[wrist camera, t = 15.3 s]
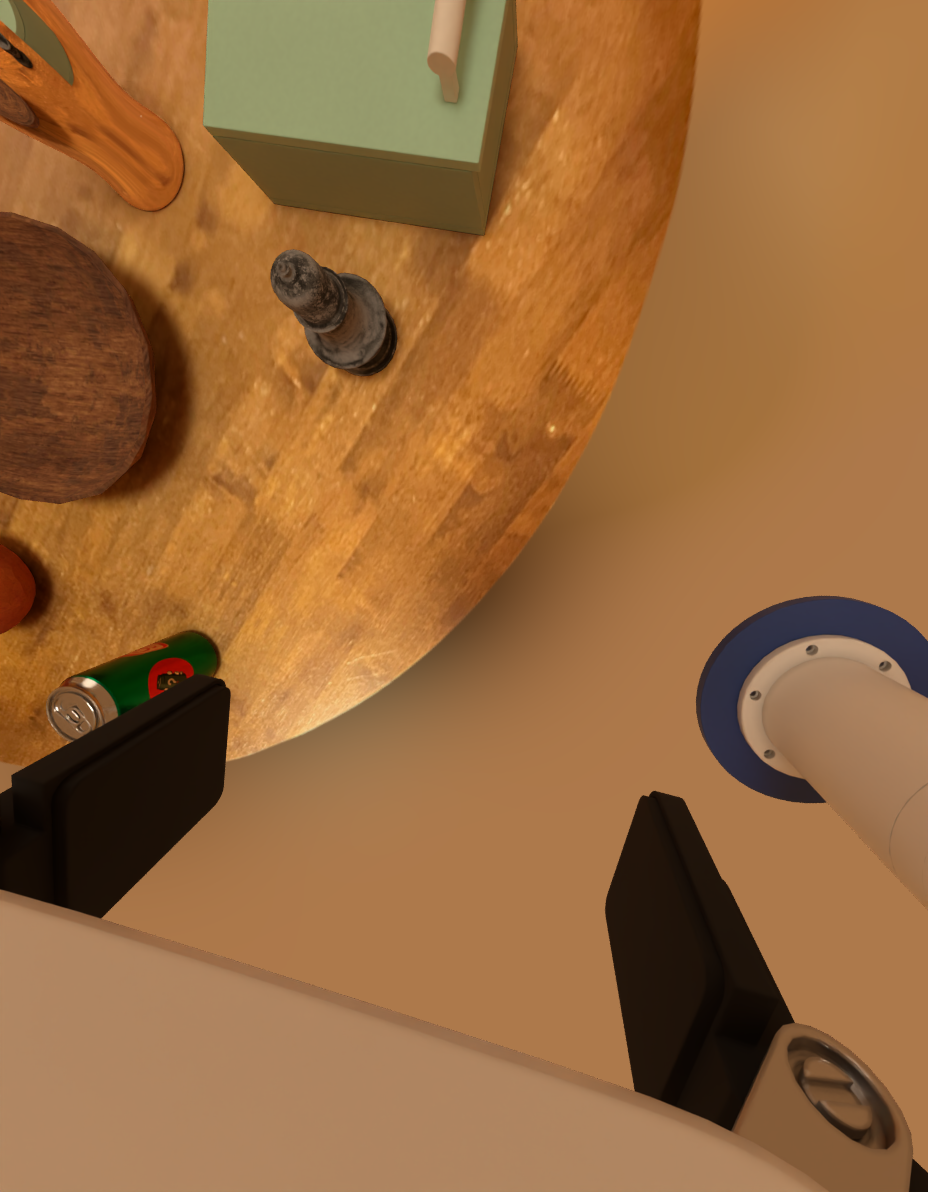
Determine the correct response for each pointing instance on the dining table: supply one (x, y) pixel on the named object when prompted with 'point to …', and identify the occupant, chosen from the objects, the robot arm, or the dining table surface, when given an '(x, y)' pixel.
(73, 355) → the bowl
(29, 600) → the fruit
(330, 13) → the lunchbox lid
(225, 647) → the dining table surface
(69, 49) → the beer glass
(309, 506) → the dining table surface
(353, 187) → the box
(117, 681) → the soda can
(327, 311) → the chess piece
